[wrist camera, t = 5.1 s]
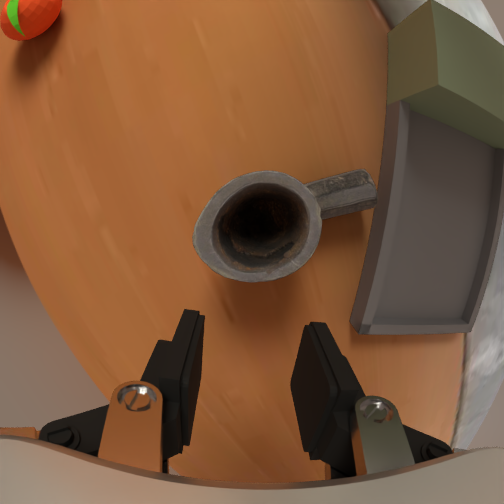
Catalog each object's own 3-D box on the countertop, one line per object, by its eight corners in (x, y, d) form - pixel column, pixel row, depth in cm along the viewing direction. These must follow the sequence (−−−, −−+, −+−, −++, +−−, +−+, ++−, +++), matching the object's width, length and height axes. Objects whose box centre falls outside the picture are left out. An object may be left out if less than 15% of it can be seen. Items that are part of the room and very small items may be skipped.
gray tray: (387, 33, 19) (430, -2, 12) (493, 88, 20) (540, 78, 13) (349, 321, 26) (382, 370, 19) (458, 322, 27) (499, 356, 19)
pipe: (365, 216, 24) (413, 235, 16) (220, 260, 24) (211, 300, 17) (347, 147, 22) (393, 137, 15) (197, 190, 23) (175, 197, 15)
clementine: (76, 31, 18) (39, 4, 11) (25, 66, 18) (-17, 51, 12) (72, -14, 16) (42, -42, 9) (24, 19, 16) (-10, 0, 10)
